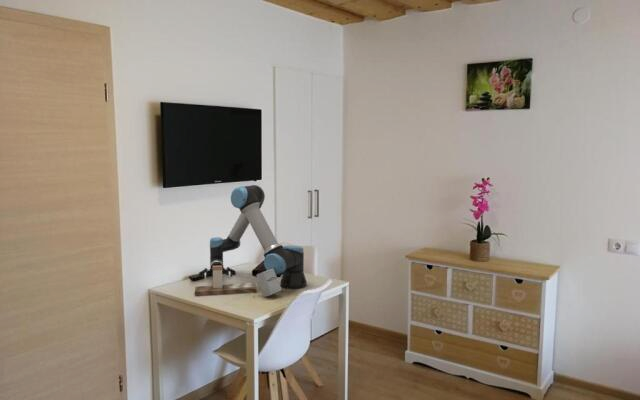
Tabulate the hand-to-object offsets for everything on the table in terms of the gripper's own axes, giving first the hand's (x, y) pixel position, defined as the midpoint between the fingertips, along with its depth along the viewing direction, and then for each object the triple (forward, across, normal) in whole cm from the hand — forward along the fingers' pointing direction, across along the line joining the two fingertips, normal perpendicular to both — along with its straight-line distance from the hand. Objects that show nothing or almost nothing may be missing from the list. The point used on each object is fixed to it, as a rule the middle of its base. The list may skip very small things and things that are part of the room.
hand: (217, 277), depth 275 cm
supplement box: (+11, -29, -8) cm, 32 cm away
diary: (-42, -34, -10) cm, 55 cm away
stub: (-3, 0, -7) cm, 7 cm away
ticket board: (-3, -4, -9) cm, 11 cm away
